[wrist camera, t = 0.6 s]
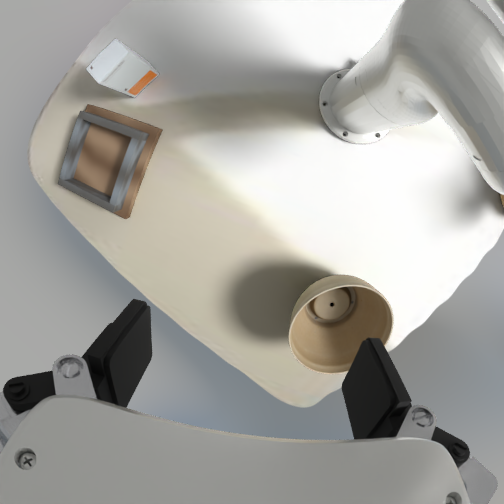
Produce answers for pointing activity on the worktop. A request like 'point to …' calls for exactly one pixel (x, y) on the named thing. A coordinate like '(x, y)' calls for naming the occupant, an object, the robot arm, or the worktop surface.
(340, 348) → the planter bowl
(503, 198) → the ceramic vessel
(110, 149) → the socket stand
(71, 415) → the robot arm
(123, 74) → the skincare box
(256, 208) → the worktop surface
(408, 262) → the worktop surface
